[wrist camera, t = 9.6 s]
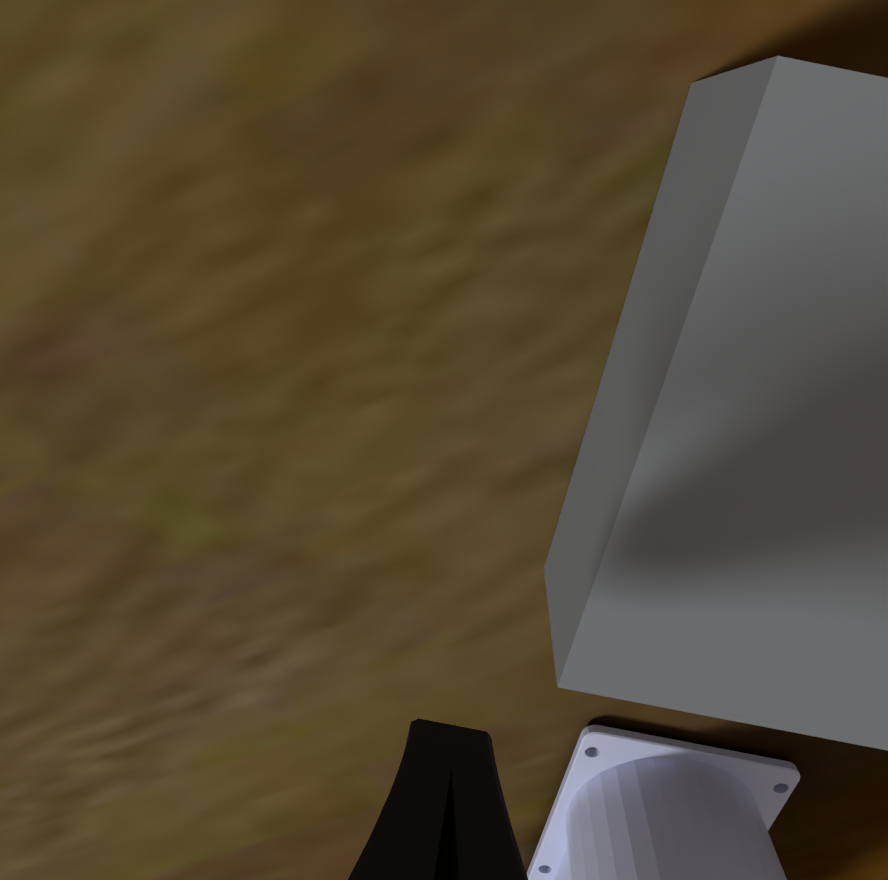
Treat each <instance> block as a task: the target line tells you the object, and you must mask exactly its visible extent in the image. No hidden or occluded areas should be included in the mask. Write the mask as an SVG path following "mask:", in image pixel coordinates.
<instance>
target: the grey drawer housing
mask: <svg viewBox="0 0 888 880" xmlns="http://www.w3.org/2000/svg"><path fill="white" fill-rule="evenodd" d="M544 576H545V585H546V593H547V602H548V611H549V619H550V628H551V637H552V645H553V654H554V663H555V671H556V680H557V687H559V688H564V689H570V690H575V691H580V692H585V693H590V694H596V695H601V696H606V697H611V698H616V699H622V700H627V701H632V702H637V703H642V704H648V705H653V706H658V707H663V708H669V709H674V710H679V711H684V712H689V713H695V714H700V715H705V716H710V717H715V718H721V719H726V720H731V721H736V722H741V723H747V724H752V725H757V726H762V727H768V728H773V729H778V730H783V731H788V732H794V733H799V734H804V735H809V736H814V737H820V738H825V739H830V740H835V741H840V742H846V743H851V744H856V745H861V746H867V747H872V748H877V749H882V750H887V751H888V78H886V77H881V76H876V75H871V74H866V73H861V72H856V71H851V70H846V69H841V68H836V67H831V66H827V65H822V64H817V63H812V62H807V61H802V60H797V59H792V58H787V57H782V56H775V57H772V58H769V59H765V60H762V61H759V62H756V63H753V64H750V65H746V66H743V67H740V68H737V69H734V70H731V71H727V72H724V73H721V74H718V75H715V76H712V77H708V78H705V79H702V80H699V81H696V82H693V83H691V86H690V89H689V92H688V96H687V99H686V102H685V106H684V109H683V112H682V115H681V119H680V122H679V125H678V129H677V132H676V135H675V138H674V142H673V145H672V148H671V152H670V155H669V158H668V162H667V165H666V168H665V171H664V175H663V178H662V181H661V185H660V188H659V191H658V194H657V198H656V201H655V204H654V208H653V211H652V214H651V217H650V221H649V224H648V227H647V231H646V234H645V237H644V240H643V244H642V247H641V250H640V254H639V257H638V260H637V263H636V267H635V270H634V273H633V277H632V280H631V283H630V286H629V290H628V293H627V296H626V300H625V303H624V306H623V310H622V313H621V316H620V319H619V323H618V326H617V329H616V333H615V336H614V339H613V342H612V346H611V349H610V352H609V356H608V359H607V362H606V365H605V369H604V372H603V375H602V379H601V382H600V385H599V388H598V392H597V395H596V398H595V402H594V405H593V408H592V411H591V415H590V418H589V421H588V425H587V428H586V431H585V435H584V438H583V441H582V444H581V448H580V451H579V454H578V458H577V461H576V464H575V467H574V471H573V474H572V477H571V481H570V484H569V487H568V490H567V494H566V497H565V500H564V504H563V507H562V510H561V513H560V517H559V520H558V523H557V527H556V530H555V533H554V536H553V540H552V543H551V546H550V550H549V553H548V556H547V559H546V563H545V566H544Z"/></svg>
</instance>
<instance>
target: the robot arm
mask: <svg viewBox="0 0 888 880" xmlns="http://www.w3.org/2000/svg"><path fill="white" fill-rule="evenodd" d="M590 747H594V748H590ZM799 780H800V773H799V771H798V769H797V767H796V766H795V765H794V764H793V763H791V762H788V761H784V760H778V759H773V758H768V757H763V756H757V755H752V754H747V753H742V752H737V751H731V750H726V749H721V748H716V747H710V746H705V745H700V744H695V743H690V742H684V741H679V740H674V739H669V738H663V737H658V736H653V735H648V734H642V733H637V732H632V731H627V730H622V729H616V728H611V727H606V726H601V725H590V726H587V727H586V728H584V729H583V730H582V732H581V734H580V737H579V739H578V742H577V745H576V747H575V750H574V752H573V755H572V758H571V760H570V763H569V765H568V768H567V770H566V773H565V776H564V778H563V781H562V783H561V786H560V789H559V791H558V794H557V796H556V799H555V801H554V804H553V807H552V809H551V812H550V814H549V817H548V820H547V822H546V825H545V827H544V830H543V832H542V835H541V838H540V840H539V843H538V845H537V848H536V851H535V853H534V856H533V858H532V861H531V864H530V866H529V869H528V871H527V874H526V871H525V868H524V865H523V862H522V859H521V856H520V852H519V849H518V846H517V843H516V840H515V836H514V833H513V830H512V826H511V823H510V819H509V816H508V812H507V808H506V805H505V801H504V797H503V793H502V789H501V785H500V781H499V777H498V772H497V767H496V763H495V757H494V752H493V746H492V740H491V737H490V735H489V734H488V733H487V732H486V731H480V730H475V729H470V728H465V727H459V726H454V725H449V724H444V723H438V722H433V721H428V720H423V719H417V720H415V721H412V722H411V724H410V729H409V733H408V738H407V742H406V747H405V751H404V755H403V758H402V761H401V764H400V767H399V770H398V773H397V775H396V778H395V780H394V783H393V786H392V788H391V791H390V793H389V796H388V798H387V800H386V802H385V805H384V807H383V809H382V811H381V814H380V816H379V818H378V820H377V823H376V825H375V827H374V829H373V832H372V834H371V836H370V838H369V840H368V842H367V844H366V846H365V848H364V850H363V852H362V854H361V856H360V857H359V859H358V861H357V863H356V865H355V867H354V869H353V871H352V873H351V875H350V877H349V879H348V880H787V879H786V876H785V874H784V871H783V869H782V866H781V863H780V861H779V858H778V856H777V853H776V851H775V848H774V846H773V843H772V841H771V838H770V836H769V833H768V830H769V829H770V827H771V825H772V824H773V822H774V821H775V819H776V817H777V816H778V814H779V813H780V811H781V809H782V808H783V806H784V805H785V803H786V801H787V800H788V798H789V797H790V795H791V793H792V792H793V790H794V788H795V787H796V785H797V784H798V782H799Z"/></svg>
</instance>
